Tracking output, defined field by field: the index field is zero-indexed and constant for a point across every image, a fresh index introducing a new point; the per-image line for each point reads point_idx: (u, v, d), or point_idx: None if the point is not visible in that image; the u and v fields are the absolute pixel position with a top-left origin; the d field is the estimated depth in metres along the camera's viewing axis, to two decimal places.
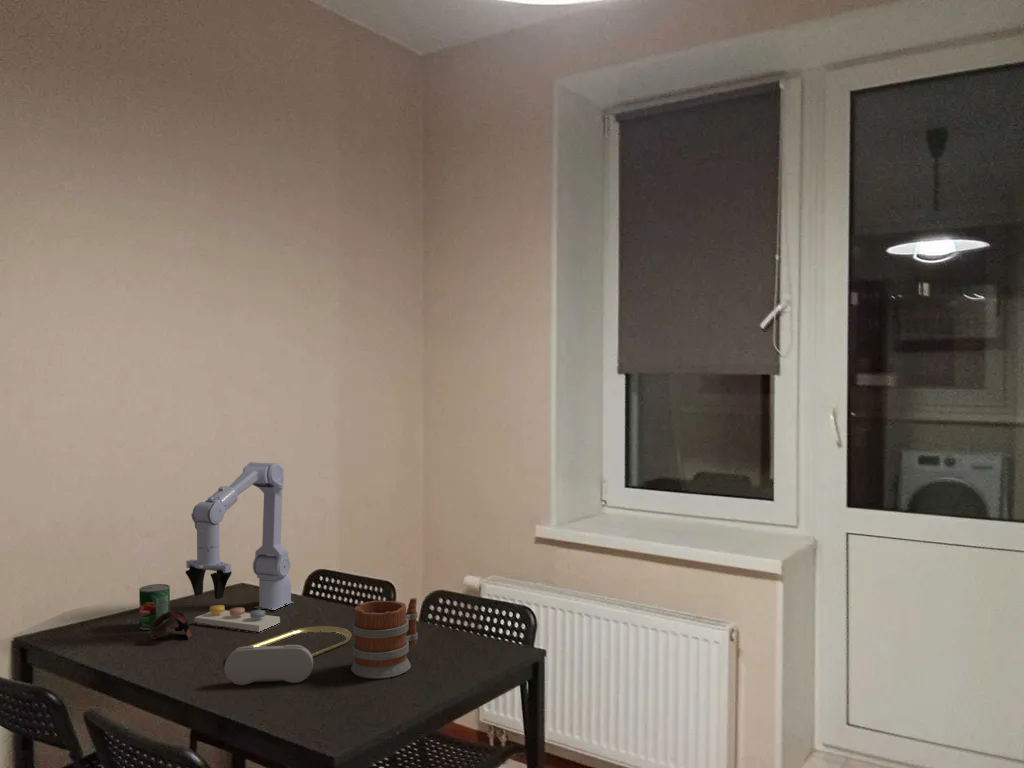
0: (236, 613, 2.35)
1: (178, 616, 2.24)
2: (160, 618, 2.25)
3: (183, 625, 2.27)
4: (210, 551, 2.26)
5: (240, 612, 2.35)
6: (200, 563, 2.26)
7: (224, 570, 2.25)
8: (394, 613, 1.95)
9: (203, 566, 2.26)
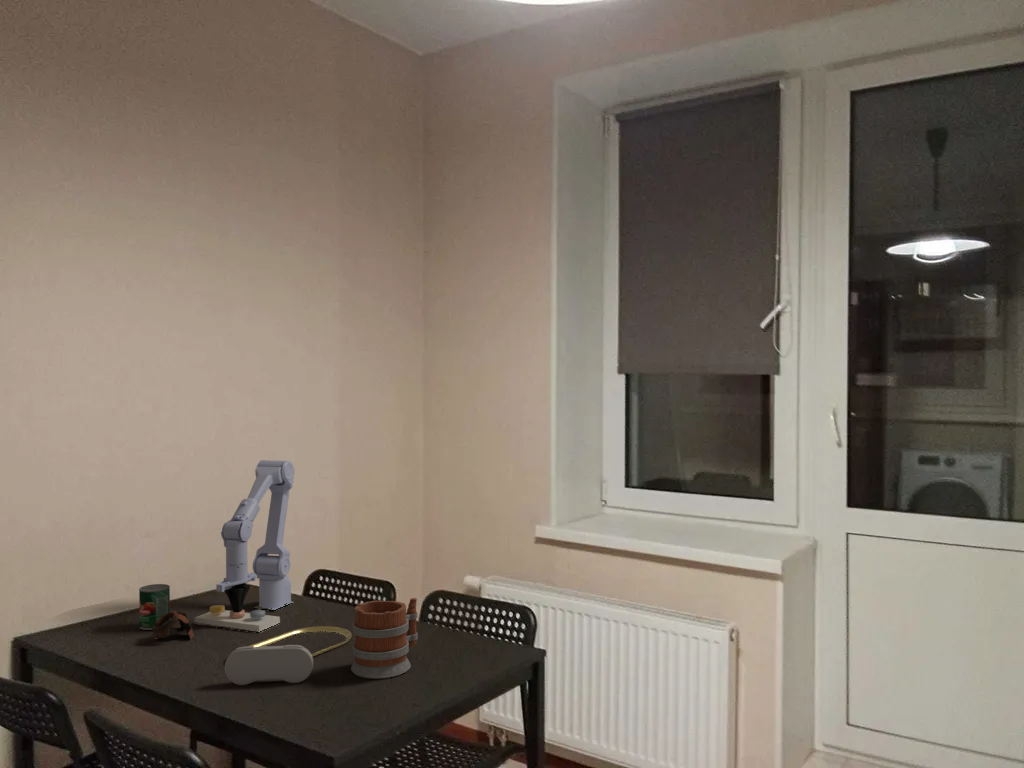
0: (236, 615, 2.35)
1: (180, 616, 2.23)
2: (162, 618, 2.25)
3: (185, 625, 2.27)
4: (226, 567, 2.35)
5: (240, 614, 2.35)
6: None
7: None
8: (394, 613, 1.95)
9: None
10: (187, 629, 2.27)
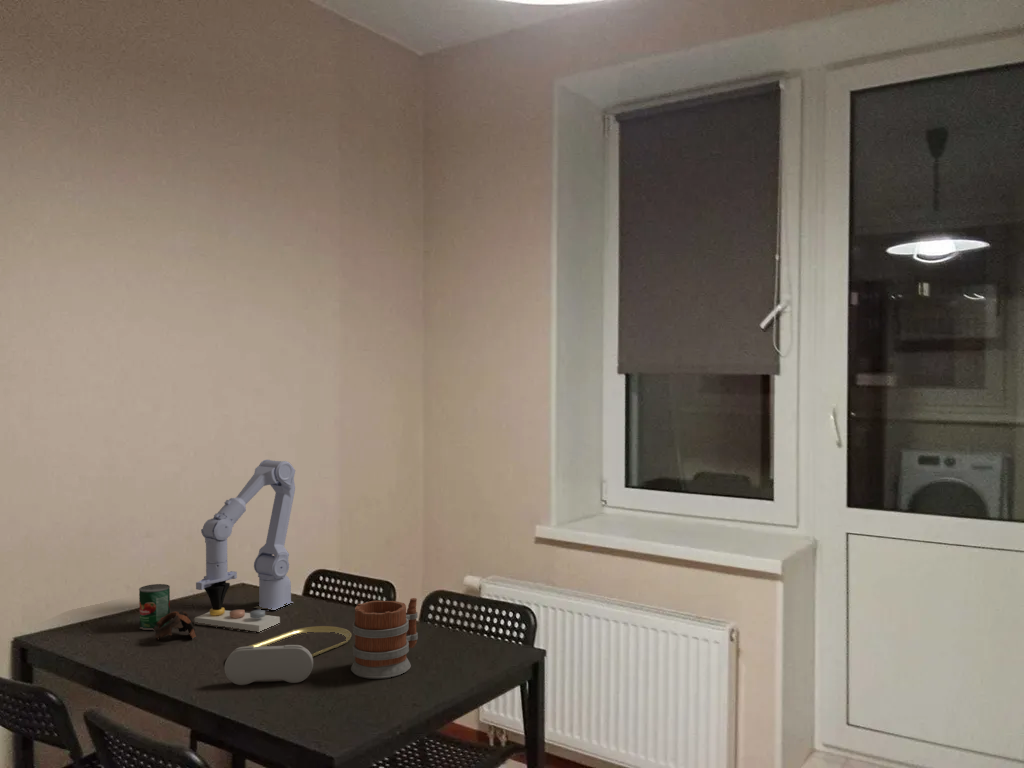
0: (236, 615, 2.35)
1: (182, 616, 2.23)
2: (164, 618, 2.24)
3: (187, 625, 2.27)
4: (206, 565, 2.38)
5: (240, 614, 2.35)
6: None
7: None
8: (394, 613, 1.95)
9: None
10: (189, 629, 2.27)
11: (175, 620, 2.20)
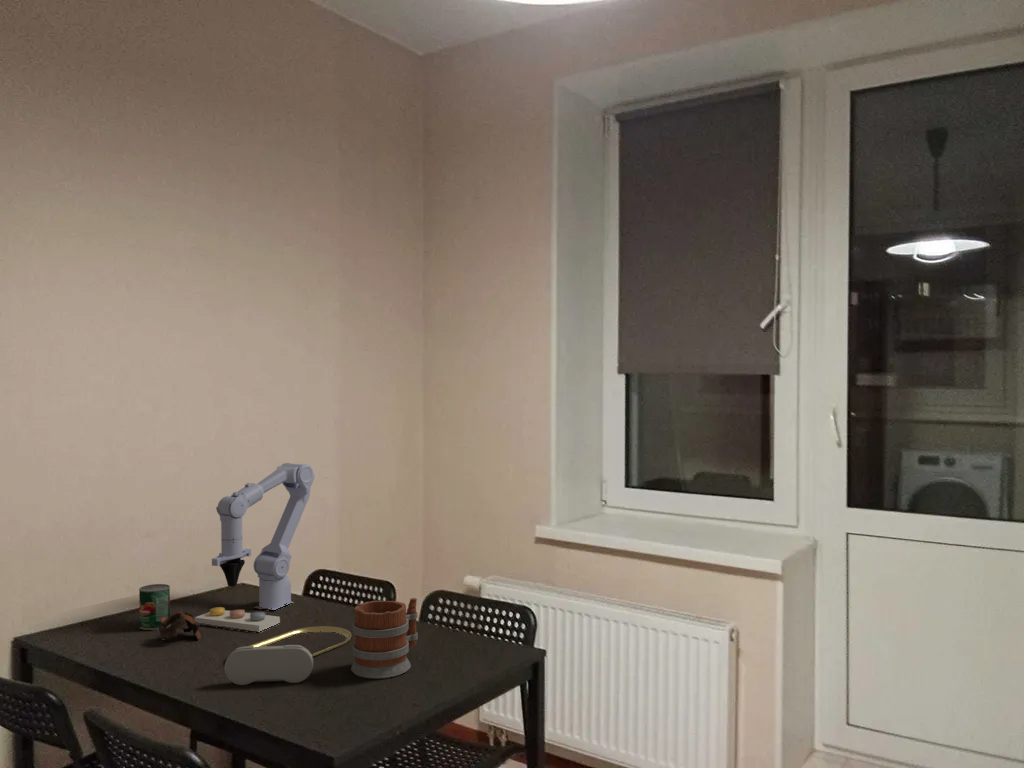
0: (236, 615, 2.35)
1: (187, 617, 2.23)
2: (169, 619, 2.24)
3: (192, 626, 2.26)
4: (221, 542, 2.41)
5: (240, 614, 2.35)
6: None
7: None
8: (394, 613, 1.95)
9: (220, 555, 2.42)
10: (194, 630, 2.26)
11: (180, 621, 2.20)
